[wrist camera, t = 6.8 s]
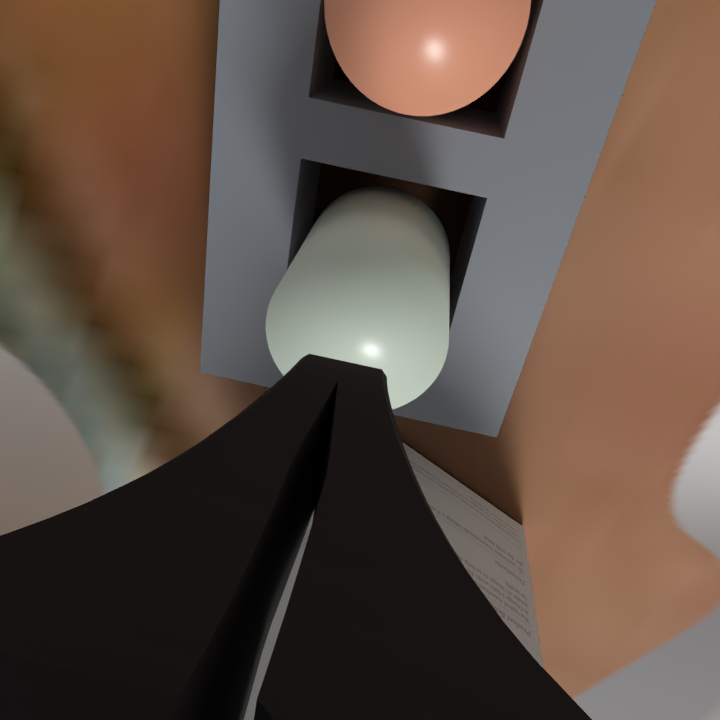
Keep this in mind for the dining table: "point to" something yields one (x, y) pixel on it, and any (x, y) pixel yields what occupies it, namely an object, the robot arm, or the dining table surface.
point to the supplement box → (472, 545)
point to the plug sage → (368, 291)
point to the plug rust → (425, 49)
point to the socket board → (415, 164)
